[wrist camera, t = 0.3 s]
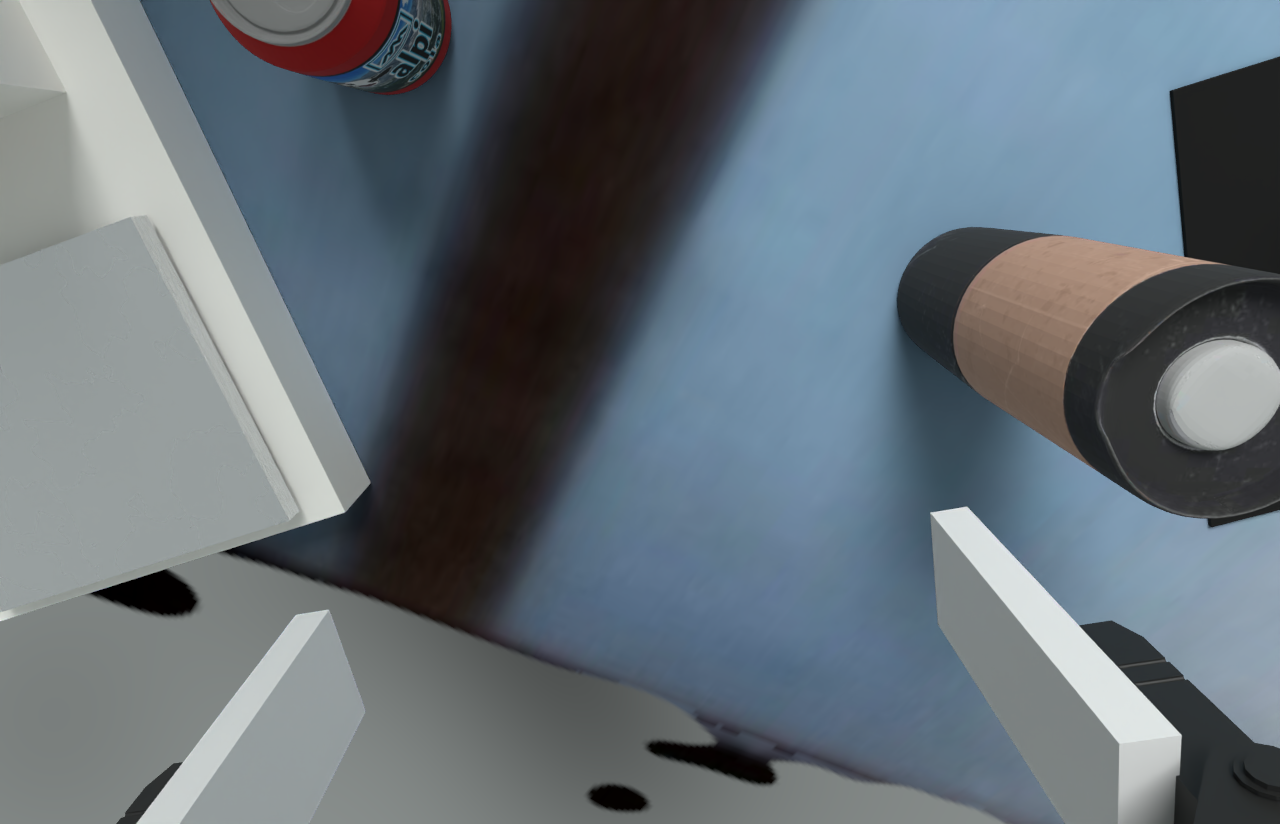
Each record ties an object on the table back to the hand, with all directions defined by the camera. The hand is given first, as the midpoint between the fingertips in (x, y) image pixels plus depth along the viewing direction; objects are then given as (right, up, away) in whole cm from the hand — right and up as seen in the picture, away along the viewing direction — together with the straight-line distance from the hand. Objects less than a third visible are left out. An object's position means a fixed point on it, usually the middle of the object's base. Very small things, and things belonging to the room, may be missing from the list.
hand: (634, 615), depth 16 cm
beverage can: (-12, +23, +21) cm, 34 cm away
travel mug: (+17, +11, +25) cm, 32 cm away
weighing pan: (-29, +4, +22) cm, 37 cm away
